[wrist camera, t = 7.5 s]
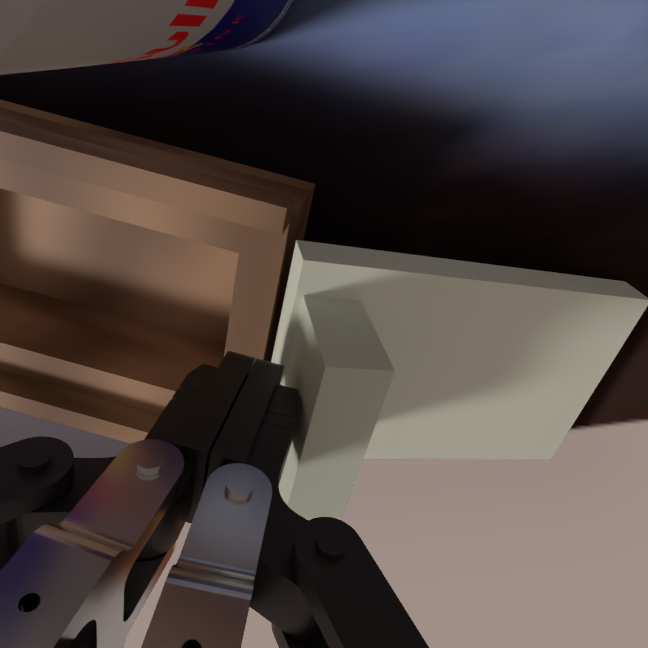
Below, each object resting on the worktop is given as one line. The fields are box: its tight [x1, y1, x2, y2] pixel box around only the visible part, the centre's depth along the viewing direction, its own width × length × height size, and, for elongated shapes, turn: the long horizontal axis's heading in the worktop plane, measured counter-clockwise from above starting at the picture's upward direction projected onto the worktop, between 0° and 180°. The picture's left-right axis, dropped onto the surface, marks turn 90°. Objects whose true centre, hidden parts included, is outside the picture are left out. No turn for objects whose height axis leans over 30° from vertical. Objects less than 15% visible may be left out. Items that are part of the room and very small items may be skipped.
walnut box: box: [0, 100, 315, 444], centre depth 17 cm, size 14×9×5 cm, turn 77°
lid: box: [271, 240, 648, 518], centre depth 15 cm, size 11×7×4 cm, turn 77°
